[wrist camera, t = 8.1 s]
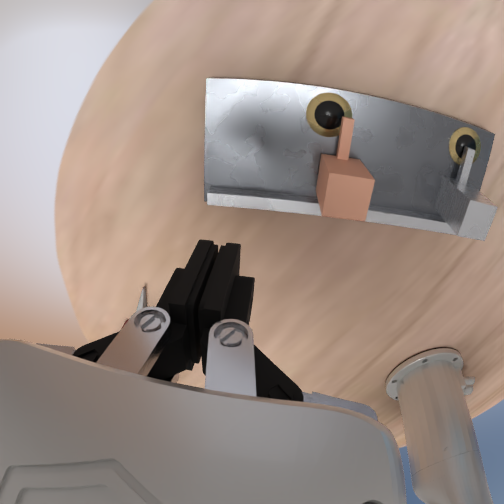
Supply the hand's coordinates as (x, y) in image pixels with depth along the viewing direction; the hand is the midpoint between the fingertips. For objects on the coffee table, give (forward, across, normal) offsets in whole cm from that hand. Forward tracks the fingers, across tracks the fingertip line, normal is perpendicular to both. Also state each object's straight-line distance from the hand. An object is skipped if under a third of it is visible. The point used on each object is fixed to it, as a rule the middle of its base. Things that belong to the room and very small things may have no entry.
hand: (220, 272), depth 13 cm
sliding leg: (+13, -6, -2) cm, 14 cm away
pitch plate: (+14, -8, -2) cm, 17 cm away
